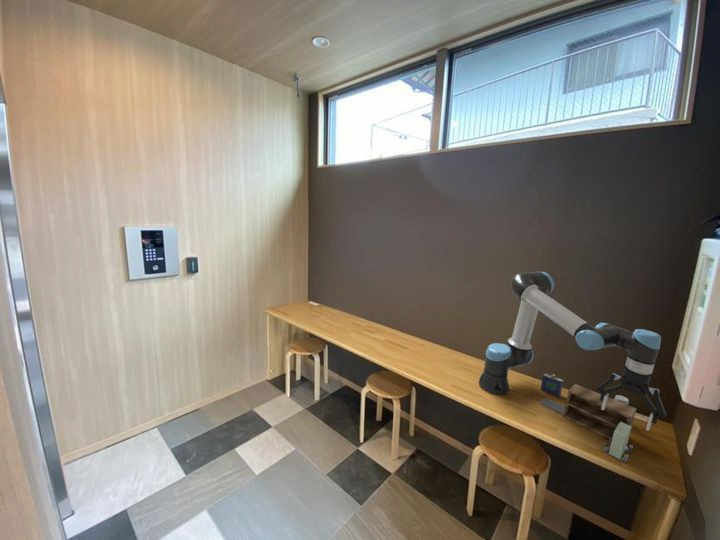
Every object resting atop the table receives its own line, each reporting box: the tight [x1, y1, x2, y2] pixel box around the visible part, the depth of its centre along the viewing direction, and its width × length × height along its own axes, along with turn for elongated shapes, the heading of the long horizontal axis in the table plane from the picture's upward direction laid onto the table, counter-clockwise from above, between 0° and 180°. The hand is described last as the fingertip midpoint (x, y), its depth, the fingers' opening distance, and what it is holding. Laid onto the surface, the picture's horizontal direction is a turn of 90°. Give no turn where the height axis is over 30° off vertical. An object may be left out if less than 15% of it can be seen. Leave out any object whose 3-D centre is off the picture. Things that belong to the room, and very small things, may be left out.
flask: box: [540, 373, 564, 397], centre depth 157 cm, size 9×3×11 cm, turn 51°
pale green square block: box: [608, 421, 633, 460], centre depth 118 cm, size 4×10×10 cm, turn 128°
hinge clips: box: [603, 436, 634, 464], centre depth 119 cm, size 7×10×2 cm
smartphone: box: [539, 397, 566, 416], centre depth 145 cm, size 8×1×15 cm
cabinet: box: [563, 383, 637, 440], centre depth 132 cm, size 22×9×14 cm, turn 38°
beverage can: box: [613, 394, 630, 405], centre depth 136 cm, size 5×5×12 cm
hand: (624, 418), depth 117 cm, fingers open, 13 cm apart
